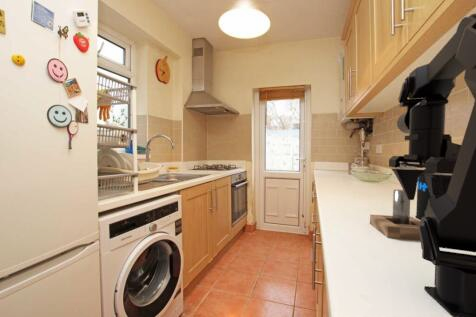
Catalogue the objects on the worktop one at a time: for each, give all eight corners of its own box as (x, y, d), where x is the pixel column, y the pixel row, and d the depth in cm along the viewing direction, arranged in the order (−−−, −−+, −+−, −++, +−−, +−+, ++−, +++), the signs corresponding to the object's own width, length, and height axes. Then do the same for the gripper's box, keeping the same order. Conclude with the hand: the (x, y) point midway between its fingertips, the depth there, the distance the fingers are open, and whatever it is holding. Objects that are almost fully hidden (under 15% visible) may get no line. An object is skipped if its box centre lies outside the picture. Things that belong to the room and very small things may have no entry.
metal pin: (409, 235, 64) (410, 192, 63) (392, 232, 66) (393, 190, 66) (408, 231, 67) (410, 190, 67) (392, 228, 69) (393, 189, 69)
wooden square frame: (437, 241, 60) (438, 229, 60) (387, 237, 62) (387, 226, 62) (411, 226, 72) (411, 216, 71) (369, 223, 74) (370, 214, 74)
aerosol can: (443, 218, 81) (446, 162, 80) (448, 224, 74) (450, 162, 73) (414, 214, 85) (416, 161, 85) (416, 220, 78) (418, 161, 78)
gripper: (518, 124, 37) (513, 219, 38) (439, 133, 56) (436, 197, 56) (440, 125, 39) (437, 215, 40) (388, 133, 58) (386, 195, 58)
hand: (423, 204), depth 48 cm, fingers open, 9 cm apart
